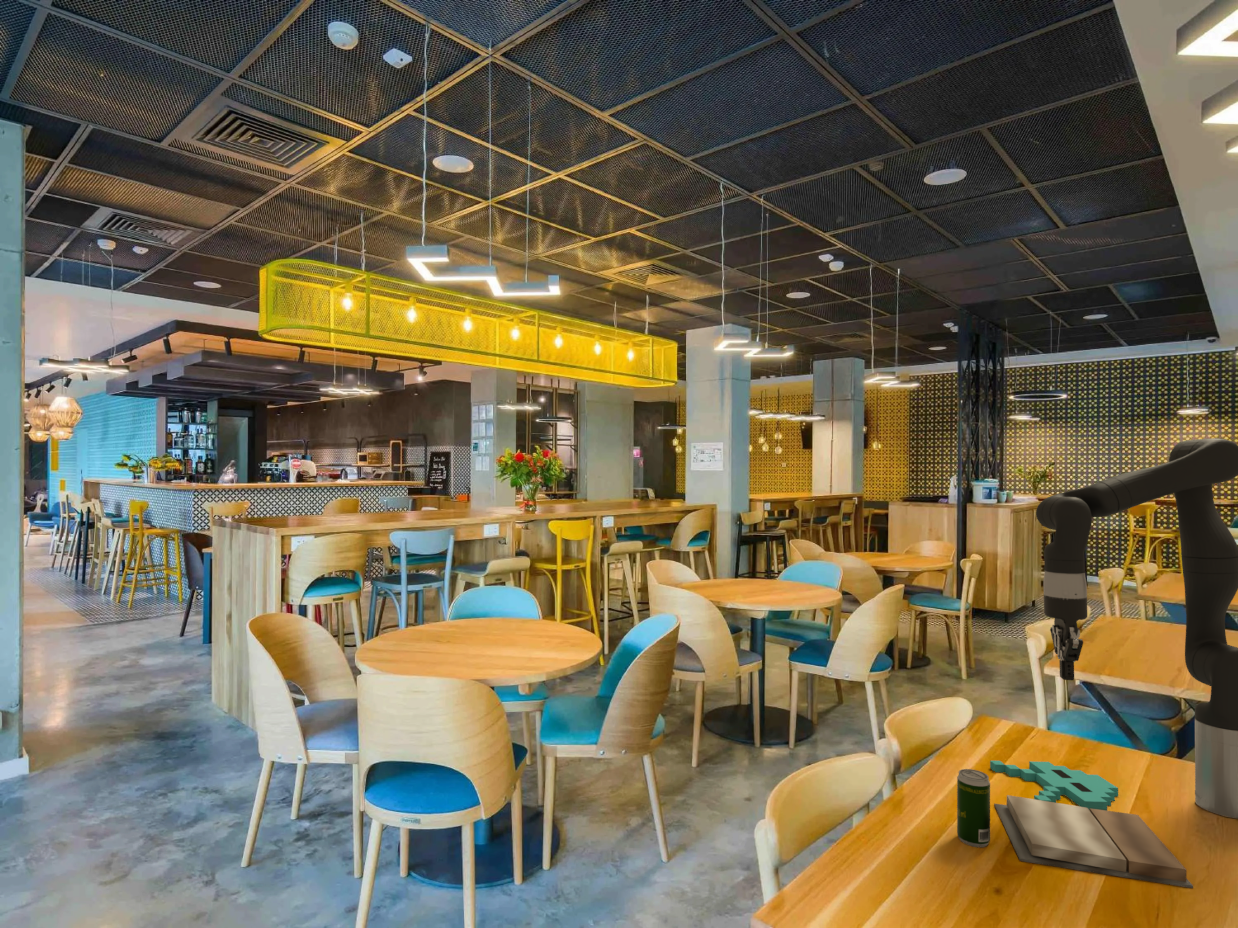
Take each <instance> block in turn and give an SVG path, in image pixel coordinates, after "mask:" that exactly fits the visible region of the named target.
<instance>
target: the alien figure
mask: <svg viewBox="0 0 1238 928" xmlns="http://www.w3.org/2000/svg"><path fill="white" fill-rule="evenodd" d="M989 768H991V769H990V770H992V771H993V772H994V771H995V772H994V773H1003V772H1005V774H1006V775H1008V777H1010V778H1011V777H1013V778H1017V777H1018V778H1021V779H1022V780H1024V781H1025V782H1037V783H1038V784H1039V785H1040V786H1041V787H1042V788H1043V790H1038V795H1037V794H1034V796H1033V799H1035V800H1042V801H1048V802H1054V803H1057V800H1059V801H1060V800H1061V796H1065V797H1067V798H1068V799H1069V800H1071V801H1072V802H1073V803H1075V804H1076V805H1077V806H1080V807H1086V808H1088V809H1089V811H1090V808H1091V809H1099V810H1106V811H1108V807H1109V806H1111V807H1112V802H1115V801H1116V798H1115V797H1119V787H1117V786H1116V785H1115V784H1113V783H1111V782H1109V781H1108V780H1106V778H1103V777H1102V776H1100V775H1099V774H1087V773H1085V772H1084V771H1082V770H1080V769H1069V768H1068V767H1067V766H1065V765H1054V764H1053V763H1051V762H1050V761H1028V768H1020V767H1018V766H1017V765H1016V764H1005V763H1003V761H1001V760H990V761H989Z"/></svg>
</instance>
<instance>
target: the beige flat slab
mask: <svg viewBox="0 0 1238 928" xmlns="http://www.w3.org/2000/svg"><path fill="white" fill-rule="evenodd" d="M1006 805H1007V807H1008V809H1009V811H1010V813H1011V815H1012V817H1013V819H1014V821H1015V823H1016V825H1017V827H1018V829H1019V831H1020V833H1021V835H1022V837H1023V839H1024V841H1025V843H1026V845H1027V847H1028V849H1029V850H1030V852H1031V854H1032V855H1034V856H1039V857H1045V858H1051V859H1056V860H1062V861H1067V862H1073V863H1078V864H1084V865H1089V866H1095V867H1101V868H1106V869H1112V870H1117V871H1123V872H1126V859H1125V857H1124V856H1123V855H1122V853H1121V852H1120V851H1119V849H1118V848H1117V847H1116V845H1115V844H1114V843H1113V841H1112V840H1111V839H1110V837H1109V836H1108V835H1107V833H1106V832H1105V831H1104V829H1103V828H1102V827H1101V825H1100V824H1099V823H1098V821H1097V820H1096V819H1095V817H1094V816H1093V815H1092V813H1091V812H1090V810H1089V809H1088V808H1086V807H1080V806H1079V805H1072V804H1066V803H1058V802H1056V803H1054V802H1048V801H1042V800H1035V799H1034V798H1028V797H1022V796H1015V795H1009V794H1007V795H1006Z"/></svg>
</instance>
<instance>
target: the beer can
mask: <svg viewBox="0 0 1238 928" xmlns="http://www.w3.org/2000/svg"><path fill="white" fill-rule="evenodd" d="M956 777H957V778H956V782H957V784H956V786H957V787H956V791H957V792H956V793H957V794H956V797H957V798H956V799H957V800H956V801H957V803H956V804H957V805H956V806H957V807H956V808H957V809H956V810H957V811H956V816H957V817H956V827H957V829H956V834H957V837H958V839H959V841H960V842H962V843H963V844H965V845H967V846H970V847H974V848H985V847H988V845H989V843H990V842H991V782H990V780H989V775H988V774H987V773H984V772H983V771H981V770H976V769H971V768H962V769H960V770H959V771H958V774H957V776H956Z"/></svg>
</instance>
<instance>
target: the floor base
mask: <svg viewBox="0 0 1238 928" xmlns="http://www.w3.org/2000/svg"><path fill="white" fill-rule="evenodd" d="M993 806H994V808H995V810H996V812H997V815H998V817H999V819H1000V820H1001V823H1002V825H1003V827H1004V830H1005V832H1006V834H1007V835H1008V838H1009V841H1010V843H1011V844H1012V847H1013V848H1014V851H1015V854H1016V855H1017V858H1018V860H1019V861H1020V862H1026V863H1031V864H1032V863H1033V864H1039V865H1044V866H1051V867H1056V868H1063V869H1069V870H1076V871H1080V872H1081V871H1082V872H1089V873H1095V874H1101V875H1107V876H1114V877H1121V878H1127V879H1132V880H1137V881H1139V880H1140V881H1143V882H1145V881H1146V882H1150V883H1158V884H1164V885H1169V884H1170V886H1178V887H1182V888H1183V887H1184V888H1189V889H1193V888H1194V884H1192V883H1191V881H1190V880H1189V879H1188V878H1187V868H1185V866H1184V865H1183V864H1182V863H1181V861H1180V860H1179V859H1178V858H1177V857H1176V856H1175V855H1174V853H1173V852H1172V851H1171V850H1170V849H1169V848H1168V847H1167V846H1166V844H1165V843H1163V841H1162V840H1161V839H1160V838H1159V837H1158V836H1157V834H1155V832H1154V831H1153V830H1152V829H1151V828H1150V827H1149V826H1148V824H1147V823H1146V822H1145V821H1144V820H1143V819H1142V818H1141V816H1140V815H1139V814H1136V813H1135V814H1134V813H1128V812H1120V811H1111V810H1099V809H1091V808H1090V810H1089V811H1090V812H1091V813H1092V815H1093V816H1094V817H1095V819H1096V820H1097V821H1098V823H1099V824H1100V825H1101V827H1102V828H1103V829H1104V831H1105V832H1106V833H1107V835H1108V836H1109V837H1110V839H1111V840H1112V841H1113V843H1114V844H1115V845H1116V847H1117V848H1118V849H1119V851H1120V852H1121V853H1122V855H1123V856H1124V857H1125V859H1126V872H1123V871H1117V870H1112V869H1106V868H1101V867H1095V866H1089V865H1084V864H1078V863H1073V862H1067V861H1062V860H1056V859H1051V858H1045V857H1039V856H1034V855H1032V854H1031V852H1030V850H1029V849H1028V847H1027V845H1026V843H1025V841H1024V839H1023V837H1022V835H1021V833H1020V831H1019V829H1018V827H1017V825H1016V823H1015V821H1014V819H1013V817H1012V815H1011V813H1010V811H1009V809H1008V807H1007V804H1001V803H993Z"/></svg>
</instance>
